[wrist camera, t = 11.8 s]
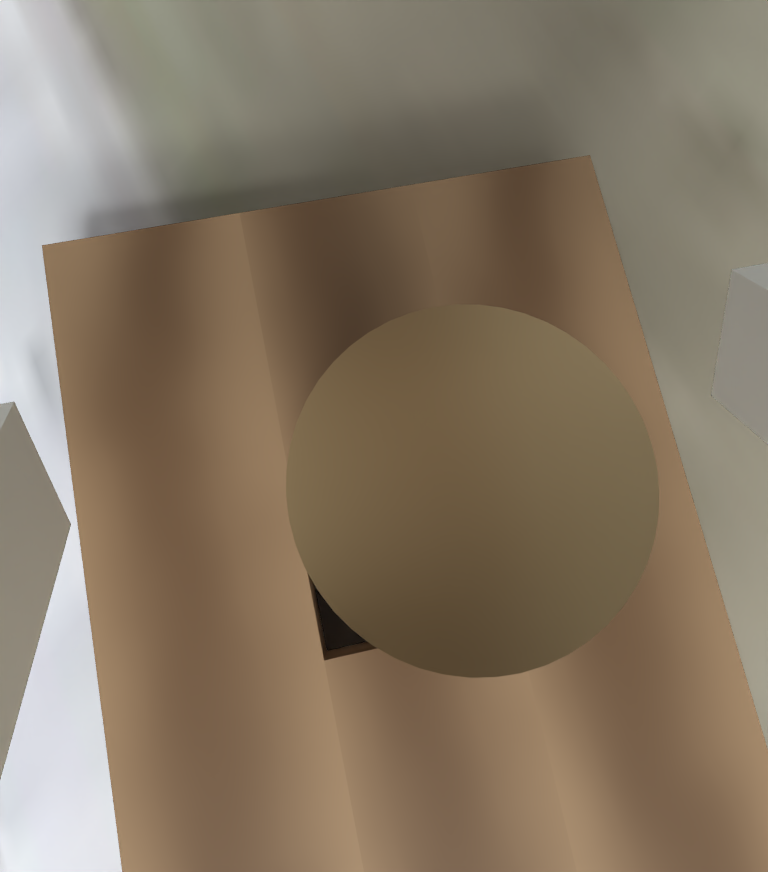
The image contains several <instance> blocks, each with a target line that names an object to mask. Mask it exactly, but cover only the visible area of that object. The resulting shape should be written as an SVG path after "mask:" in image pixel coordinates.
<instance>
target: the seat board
mask: <svg viewBox="0 0 768 872" xmlns="http://www.w3.org/2000/svg"><path fill="white" fill-rule="evenodd" d="M42 249H43V257H44V265H45V273H46V280H47V288H48V296H49V304H50V311H51V319H52V327H53V335H54V343H55V350H56V358H57V366H58V374H59V382H60V389H61V397H62V405H63V413H64V421H65V428H66V436H67V444H68V452H69V459H70V467H71V475H72V483H73V491H74V498H75V506H76V514H77V522H78V530H79V537H80V545H81V553H82V561H83V568H84V576H85V584H86V592H87V600H88V607H89V615H90V623H91V631H92V639H93V646H94V654H95V662H96V670H97V678H98V685H99V693H100V701H101V709H102V716H103V724H104V732H105V740H106V748H107V755H108V763H109V771H110V779H111V787H112V794H113V802H114V810H115V818H116V826H117V833H118V841H119V849H120V857H121V864H122V872H768V749H767V746H766V742H765V739H764V736H763V732H762V729H761V726H760V722H759V719H758V716H757V712H756V709H755V706H754V702H753V699H752V696H751V692H750V689H749V686H748V682H747V679H746V676H745V672H744V669H743V666H742V662H741V659H740V656H739V652H738V649H737V646H736V642H735V639H734V635H733V632H732V629H731V625H730V622H729V619H728V615H727V612H726V609H725V605H724V602H723V599H722V595H721V592H720V589H719V585H718V582H717V579H716V575H715V572H714V569H713V565H712V562H711V559H710V555H709V552H708V549H707V545H706V542H705V539H704V535H703V532H702V529H701V525H700V522H699V518H698V515H697V512H696V508H695V505H694V502H693V498H692V495H691V492H690V488H689V485H688V482H687V478H686V475H685V472H684V468H683V465H682V462H681V458H680V455H679V452H678V448H677V445H676V442H675V438H674V435H673V432H672V428H671V425H670V422H669V418H668V415H667V411H666V408H665V405H664V401H663V398H662V395H661V391H660V388H659V385H658V381H657V378H656V375H655V371H654V368H653V365H652V361H651V358H650V355H649V351H648V348H647V345H646V341H645V338H644V335H643V331H642V328H641V325H640V321H639V318H638V315H637V311H636V308H635V305H634V301H633V298H632V294H631V291H630V288H629V284H628V281H627V278H626V274H625V271H624V268H623V264H622V261H621V258H620V254H619V251H618V248H617V244H616V241H615V238H614V234H613V231H612V228H611V224H610V221H609V218H608V214H607V211H606V208H605V204H604V201H603V198H602V194H601V191H600V187H599V184H598V181H597V177H596V174H595V171H594V167H593V164H592V161H591V157H590V155H588V156H582V157H576V158H570V159H564V160H558V161H552V162H546V163H539V164H533V165H527V166H521V167H515V168H509V169H503V170H497V171H491V172H485V173H479V174H473V175H467V176H461V177H455V178H448V179H442V180H436V181H430V182H424V183H418V184H412V185H406V186H400V187H394V188H388V189H382V190H376V191H370V192H363V193H357V194H351V195H345V196H339V197H333V198H327V199H321V200H315V201H309V202H303V203H297V204H291V205H285V206H279V207H272V208H266V209H260V210H254V211H248V212H242V213H236V214H230V215H224V216H218V217H212V218H206V219H200V220H194V221H187V222H181V223H175V224H169V225H163V226H157V227H151V228H145V229H139V230H133V231H127V232H121V233H115V234H109V235H103V236H96V237H90V238H84V239H78V240H72V241H66V242H60V243H54V244H48V245H42ZM456 304H460V305H486V306H493V307H501V308H505V309H509V310H513V311H517V312H521V313H525V314H527V315H530V316H532V317H535V318H538V319H540V320H543V321H545V322H547V323H549V324H551V325H553V326H555V327H557V328H559V329H560V330H562V331H564V332H566V333H568V334H569V335H570V336H572V337H573V338H575V339H576V340H578V341H579V342H580V343H582V344H583V345H585V346H586V347H587V348H588V349H589V350H591V351H592V352H593V353H594V354H595V355H596V356H597V357H598V358H599V359H600V360H602V361H603V362H604V363H605V364H606V366H607V367H608V368H609V369H610V370H611V371H612V373H613V374H614V375H615V376H616V377H617V378H618V379H619V381H620V382H621V384H622V385H623V386H624V388H625V389H626V391H627V392H628V394H629V395H630V397H631V398H632V400H633V402H634V404H635V406H636V408H637V410H638V411H639V413H640V415H641V417H642V419H643V421H644V424H645V427H646V429H647V432H648V435H649V438H650V441H651V443H652V447H653V452H654V456H655V460H656V465H657V471H658V482H659V516H658V522H657V528H656V534H655V540H654V543H653V547H652V550H651V553H650V556H649V560H648V563H647V565H646V567H645V569H644V572H643V574H642V576H641V578H640V580H639V582H638V584H637V586H636V588H635V589H634V591H633V592H632V594H631V596H630V597H629V599H628V600H627V602H626V603H625V605H624V606H623V608H622V609H621V610H620V611H619V612H618V613H617V614H616V616H615V617H614V618H613V619H612V620H611V621H610V623H609V624H608V625H607V626H606V627H605V628H603V629H602V630H601V631H600V632H599V633H598V634H597V635H595V636H594V637H593V638H592V639H591V640H590V641H588V642H587V643H585V644H584V645H582V646H581V647H579V648H578V649H576V650H575V651H573V652H572V653H570V654H569V655H567V656H565V657H563V658H560V659H558V660H556V661H554V662H552V663H550V664H548V665H546V666H542V667H539V668H536V669H533V670H529V671H526V672H523V673H519V674H512V675H506V676H500V677H481V678H468V677H459V676H451V675H443V674H440V673H436V672H432V671H428V670H424V669H420V668H417V667H415V666H412V665H410V664H408V663H405V662H403V661H400V660H398V659H395V658H393V657H392V656H390V655H388V654H387V653H385V652H383V651H381V650H380V649H378V648H376V647H374V646H373V645H371V644H370V643H369V642H364V643H359V644H355V645H350V646H346V647H341V648H337V649H333V650H328V651H327V649H326V643H325V638H324V633H323V628H322V622H321V617H320V612H319V606H318V601H317V596H316V591H315V585H314V583H313V581H312V579H311V578H310V576H309V574H308V572H307V571H306V569H305V567H304V564H303V562H302V559H301V557H300V554H299V552H298V550H297V547H296V545H295V541H294V537H293V533H292V529H291V525H290V522H289V516H288V507H287V499H286V469H287V462H288V455H289V448H290V443H291V440H292V437H293V433H294V430H295V426H296V423H297V420H298V418H299V416H300V413H301V411H302V409H303V407H304V404H305V402H306V400H307V398H308V397H309V395H310V393H311V392H312V390H313V388H314V387H315V385H316V383H317V382H318V380H319V379H320V378H321V376H322V375H323V374H324V373H325V372H326V370H327V369H328V368H329V367H330V365H331V364H332V363H333V362H334V361H335V360H336V359H337V358H338V357H339V356H340V355H341V354H342V353H343V352H344V351H345V350H346V349H347V348H348V347H349V346H351V345H352V344H353V343H355V342H356V341H357V340H359V339H360V338H362V337H363V336H364V335H366V334H367V333H368V332H370V331H372V330H374V329H376V328H377V327H379V326H381V325H383V324H385V323H387V322H388V321H391V320H393V319H396V318H398V317H401V316H404V315H406V314H409V313H412V312H416V311H420V310H424V309H428V308H432V307H439V306H447V305H456Z"/></svg>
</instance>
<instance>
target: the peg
mask: <svg viewBox="0 0 768 872" xmlns="http://www.w3.org/2000/svg"><path fill="white" fill-rule="evenodd" d="M286 499H287V507H288V516H289V522H290V525H291V529H292V533H293V537H294V541H295V545H296V547H297V550H298V552H299V554H300V557H301V559H302V562H303V564H304V567H305V569H306V571H307V572H308V574H309V576H310V578H311V579H312V581H313V583H314V585H315V586H316V588H317V590H318V591H319V593H320V594H321V595H322V597H323V598H324V599H325V601H326V602H327V603H328V605H329V606H330V607H331V609H332V610H333V611H334V612H335V613H336V614H337V615H338V616H339V617H340V618H341V619H342V620H343V621H344V622H345V623H346V624H347V625H348V626H349V627H350V628H351V629H352V630H353V631H354V632H356V633H357V634H358V635H360V636H361V637H362V638H364V639H365V640H366V641H367V642H369V643H370V644H371V645H373V646H374V647H376V648H378V649H380V650H381V651H383V652H385V653H387V654H388V655H390V656H392V657H393V658H395V659H398V660H400V661H403V662H405V663H408V664H410V665H412V666H415V667H417V668H420V669H424V670H428V671H432V672H436V673H440V674H443V675H451V676H459V677H468V678H481V677H500V676H506V675H512V674H519V673H523V672H526V671H529V670H533V669H536V668H539V667H542V666H546V665H548V664H550V663H552V662H554V661H556V660H558V659H560V658H563V657H565V656H567V655H569V654H570V653H572V652H573V651H575V650H576V649H578V648H579V647H581V646H582V645H584V644H585V643H587V642H588V641H590V640H591V639H592V638H593V637H594V636H595V635H597V634H598V633H599V632H600V631H601V630H602V629H603V628H605V627H606V626H607V625H608V624H609V623H610V621H611V620H612V619H613V618H614V617H615V616H616V614H617V613H618V612H619V611H620V610H621V609H622V608H623V606H624V605H625V603H626V602H627V600H628V599H629V597H630V596H631V594H632V592H633V591H634V589H635V588H636V586H637V584H638V582H639V580H640V578H641V576H642V574H643V572H644V569H645V567H646V565H647V563H648V560H649V556H650V553H651V550H652V547H653V543H654V540H655V534H656V528H657V522H658V516H659V482H658V471H657V465H656V460H655V456H654V452H653V447H652V443H651V441H650V438H649V435H648V432H647V429H646V427H645V424H644V421H643V419H642V417H641V415H640V413H639V411H638V410H637V408H636V406H635V404H634V402H633V400H632V398H631V397H630V395H629V394H628V392H627V391H626V389H625V388H624V386H623V385H622V384H621V382H620V381H619V379H618V378H617V377H616V376H615V375H614V374H613V373H612V371H611V370H610V369H609V368H608V367H607V366H606V364H605V363H604V362H603V361H602V360H600V359H599V358H598V357H597V356H596V355H595V354H594V353H593V352H592V351H591V350H589V349H588V348H587V347H586V346H585V345H583V344H582V343H580V342H579V341H578V340H576V339H575V338H573V337H572V336H570V335H569V334H568V333H566V332H564V331H562V330H560V329H559V328H557V327H555V326H553V325H551V324H549V323H547V322H545V321H543V320H540V319H538V318H535V317H532V316H530V315H527V314H525V313H521V312H517V311H513V310H509V309H505V308H501V307H493V306H486V305H460V304H456V305H447V306H439V307H432V308H428V309H424V310H420V311H416V312H412V313H409V314H406V315H404V316H401V317H398V318H396V319H393V320H391V321H388V322H387V323H385V324H383V325H381V326H379V327H377V328H376V329H374V330H372V331H370V332H368V333H367V334H366V335H364V336H363V337H362V338H360V339H359V340H357V341H356V342H355V343H353V344H352V345H351V346H349V347H348V348H347V349H346V350H345V351H344V352H343V353H342V354H341V355H340V356H339V357H338V358H337V359H336V360H335V361H334V362H333V363H332V364H331V365H330V367H329V368H328V369H327V370H326V372H325V373H324V374H323V375H322V376H321V378H320V379H319V380H318V382H317V383H316V385H315V387H314V388H313V390H312V392H311V393H310V395H309V397H308V398H307V400H306V402H305V404H304V407H303V409H302V411H301V413H300V416H299V418H298V420H297V423H296V426H295V430H294V433H293V437H292V440H291V443H290V448H289V455H288V462H287V469H286Z"/></svg>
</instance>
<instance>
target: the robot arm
mask: <svg viewBox="0 0 768 872" xmlns="http://www.w3.org/2000/svg"><path fill="white" fill-rule="evenodd" d="M711 396H712V397H713V398H714V399H715V400H717V401H718V402H719V403H720V404H721V405H722V406H724V407H725V408H726V409H727V410H728V411H729V412H731V413H732V414H733V415H734V416H735V417H736V418H738V419H739V420H740V421H741V422H742V423H743V424H744V425H746V426H747V427H748V428H749V429H750V430H751V431H753V432H754V433H755V434H756V435H757V436H758V437H760V438H761V439H762V440H763V441H764V442H765V443H767V444H768V263H764V264H759V265H753V266H748V267H743V268H737V269H732V270H731V276H730V282H729V288H728V294H727V300H726V306H725V313H724V319H723V325H722V331H721V337H720V343H719V349H718V355H717V361H716V367H715V373H714V379H713V385H712V391H711ZM70 526H71V523H70V521H69V519H68V517H67V515H66V513H65V511H64V508H63V506H62V504H61V502H60V500H59V498H58V495H57V493H56V491H55V489H54V487H53V485H52V482H51V480H50V478H49V476H48V474H47V472H46V469H45V467H44V465H43V463H42V461H41V459H40V457H39V454H38V452H37V450H36V448H35V446H34V444H33V441H32V439H31V437H30V435H29V433H28V431H27V428H26V426H25V424H24V422H23V420H22V418H21V415H20V413H19V411H18V409H17V407H16V405H15V402H10V403H4V404H0V779H1V775H2V771H3V768H4V764H5V761H6V757H7V753H8V750H9V746H10V742H11V739H12V735H13V732H14V728H15V724H16V721H17V717H18V714H19V710H20V706H21V703H22V699H23V696H24V692H25V688H26V685H27V681H28V677H29V674H30V670H31V667H32V663H33V659H34V656H35V652H36V649H37V645H38V641H39V638H40V634H41V631H42V627H43V623H44V620H45V616H46V612H47V609H48V605H49V602H50V598H51V594H52V591H53V587H54V584H55V580H56V576H57V573H58V569H59V566H60V562H61V558H62V555H63V551H64V547H65V544H66V540H67V537H68V533H69V529H70Z"/></svg>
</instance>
